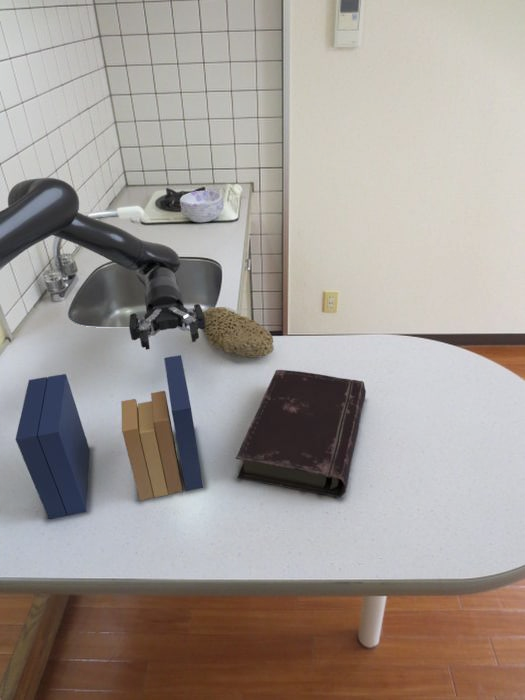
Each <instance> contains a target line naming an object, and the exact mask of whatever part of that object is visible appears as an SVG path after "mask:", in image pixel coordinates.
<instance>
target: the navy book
mask: <svg viewBox="0 0 525 700" xmlns="http://www.w3.org/2000/svg"><path fill="white" fill-rule="evenodd" d="M163 360H164V366H165V372H166V381H167V389H168V394H169V402H170V410H171V415H172V421H173V427H174V431H175V432H174V433H175V437H176V443H177V444H176V445H177V448H178V453H179V460H180V464H181V471H182V477H183V481H184V488H185V491H186V492H188V491H193V490H198V489H203V488H204V484H203V477H202V471H201V470H202V469H201V465H200V464H201V463H200V458H199V451H198V443H197V437H196V432H195V425H194V419H193V411H192V405H191V400H190V395H189V390H188V385H187V384H188V383H187V379H186V374H185V368H184V362H183V358H182V355H181V354H179V355H173V356H168V357H164V358H163Z"/></svg>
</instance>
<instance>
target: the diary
mask: <svg viewBox="0 0 525 700" xmlns="http://www.w3.org/2000/svg"><path fill="white" fill-rule="evenodd" d="M366 394H367V390H366V385H365V381H363V380H357V379H352V378H351V379H350V378H342V377H337V376H331V375H326V374H319V373H313V372H306V371H298V370H286V369H276V370H275V371H274V373H273V376H272V377H271V380H270V382H269V385H268V386H267V389H266V391H265V394H264V395H263V397H262V401H261V402H260V405H259V407H258V409H257V411H256V413H255V415H254V417H253V419H252V421H251V423H250V425H249V428H248V430H247V432H246V434H245V436H244V439H243V440H242V443H241V445H240V447H239V450H238V451H237V453H236V457H235V459H236V460H240V461H243V463H242V465H241V468H240V469H239V472H238V474H237V478H238V479H242V480H243V479H244V480H248V481H253V482H259V483H264V484H269V485H274V486H278V487H283V488H284V487H285V488H290V489H294V490H300V491H304V492H305V491H306V492H309V493H313V494H314V493H315V494H318V495H319V494H320V495H325V496H327V495H328V496H330V497H335V498H342V497H343V496H344V495H345V493H347V488H348V483H349V476H350V472H351V465H352V460H353V457H354V451H355V447H356V443H357V438H358V434H359V428H360V424H361V423H360V422H361V416H362V413H363V407H364V403H365V400H366Z"/></svg>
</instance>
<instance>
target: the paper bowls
mask: <svg viewBox="0 0 525 700" xmlns="http://www.w3.org/2000/svg"><path fill="white" fill-rule="evenodd" d="M179 205H180V211H181V214H182V215H183V216H186V217H187V219H189V221H191V222H194V223H200V224H201V223H202V224H203V223H209V222H212V221H214V220H216V219H217V218H218V216H219V214H220V213H222V212H223V211H224V209H225V208H224V206H225V205H224V196H223V194H222V193H220V192H219V191H215V190H208V189H207V190H205V189H204V190H196V191H191V192H188V193H185V194H183V195H182V196H181V197H180V198H179Z"/></svg>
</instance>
